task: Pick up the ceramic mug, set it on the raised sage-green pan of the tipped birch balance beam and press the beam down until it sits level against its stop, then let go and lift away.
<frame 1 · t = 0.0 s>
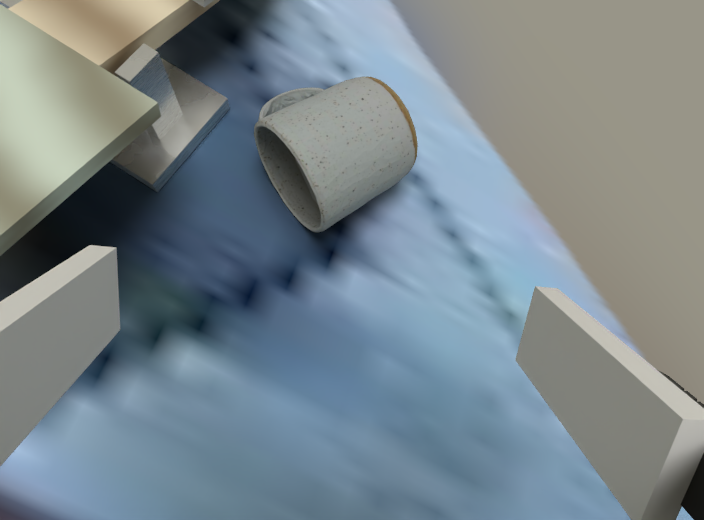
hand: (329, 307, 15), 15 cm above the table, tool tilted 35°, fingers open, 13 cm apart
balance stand: (124, 104, 33), on the table
ceramic mug: (319, 166, 33), on the table
balance beam: (74, 4, 25), point 8 cm above the table, hinge at 10.0°
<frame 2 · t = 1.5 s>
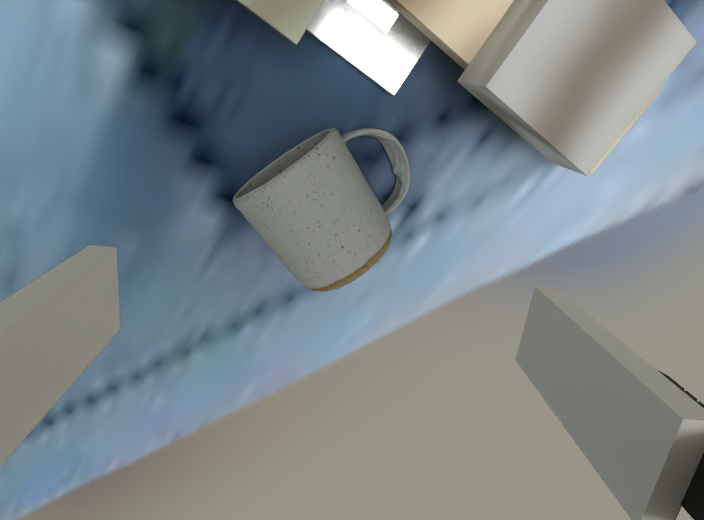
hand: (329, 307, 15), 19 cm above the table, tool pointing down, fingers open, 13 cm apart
ceramic mug: (331, 186, 33), on the table
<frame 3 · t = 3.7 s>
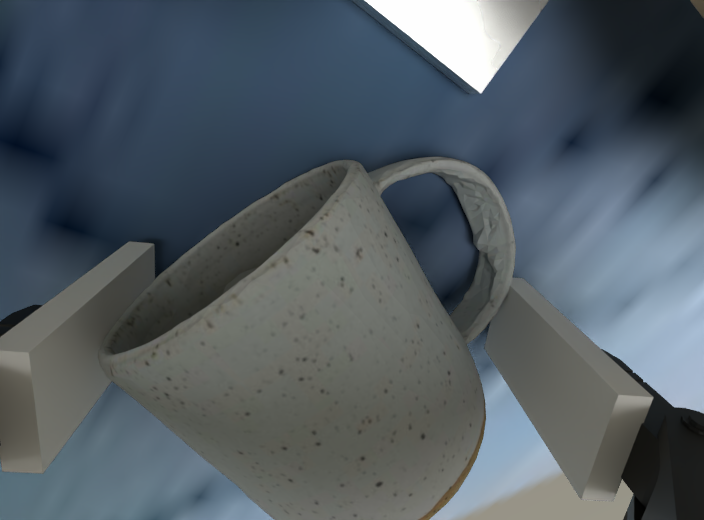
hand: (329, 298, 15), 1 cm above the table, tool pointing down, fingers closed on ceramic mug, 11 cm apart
ceramic mug: (344, 270, 16), on the table, touching gripper
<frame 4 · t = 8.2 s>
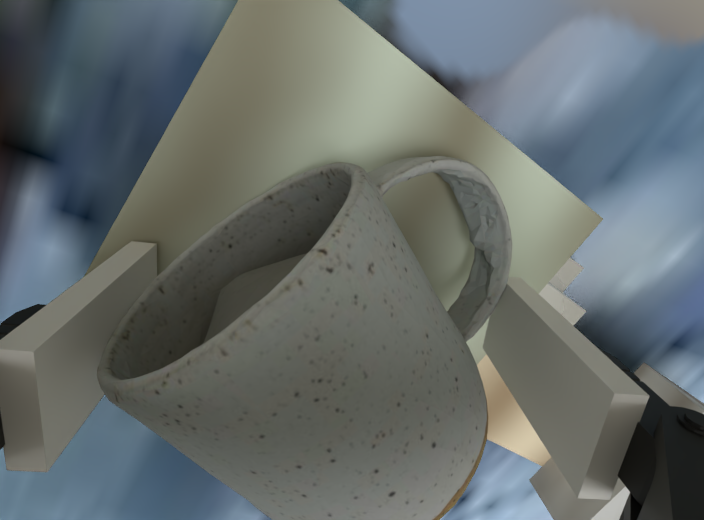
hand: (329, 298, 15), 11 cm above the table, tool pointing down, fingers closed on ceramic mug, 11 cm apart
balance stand: (455, 305, 28), on the table
ceramic mug: (339, 268, 16), point 10 cm above the table, touching balance beam, gripper
balance beam: (514, 391, 20), point 8 cm above the table, hinge at 6.8°, touching ceramic mug, gripper
when the fingers open (9 cm above the table, at t = 9.0 s): ceramic mug stays where it is, resting on balance beam.
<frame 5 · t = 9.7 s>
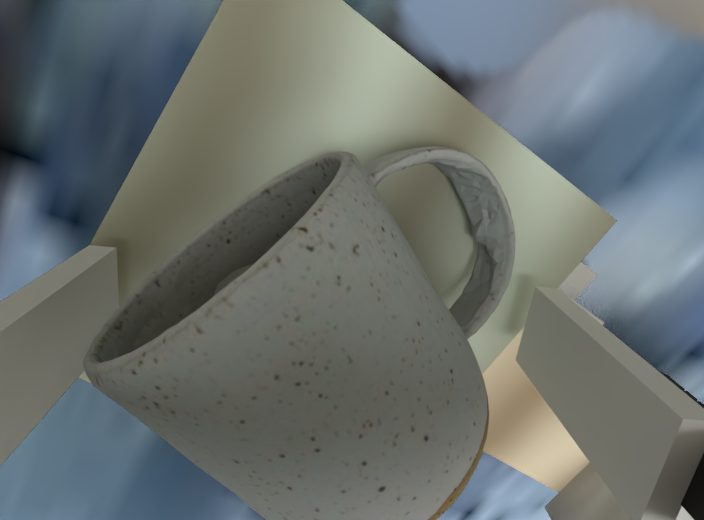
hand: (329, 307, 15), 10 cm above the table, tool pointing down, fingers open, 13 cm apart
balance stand: (462, 313, 26), on the table
ceramic mug: (339, 265, 16), point 9 cm above the table, touching balance beam
balance beam: (523, 406, 18), point 8 cm above the table, hinge at 1.6°, touching ceramic mug
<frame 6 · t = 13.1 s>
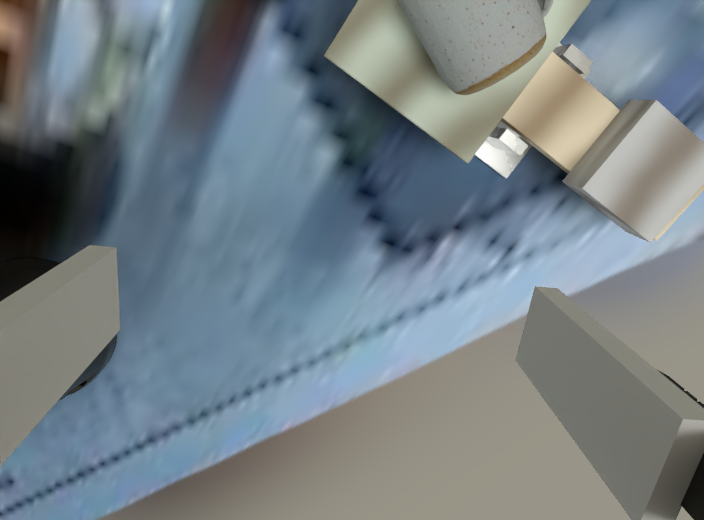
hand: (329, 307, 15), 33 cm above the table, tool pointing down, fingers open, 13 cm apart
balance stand: (511, 100, 45), on the table
ceramic mug: (471, 9, 34), point 8 cm above the table, touching balance beam
balance beam: (552, 101, 37), point 8 cm above the table, hinge at 0.0°, touching ceramic mug
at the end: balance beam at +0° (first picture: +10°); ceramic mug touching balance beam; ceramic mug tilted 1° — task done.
